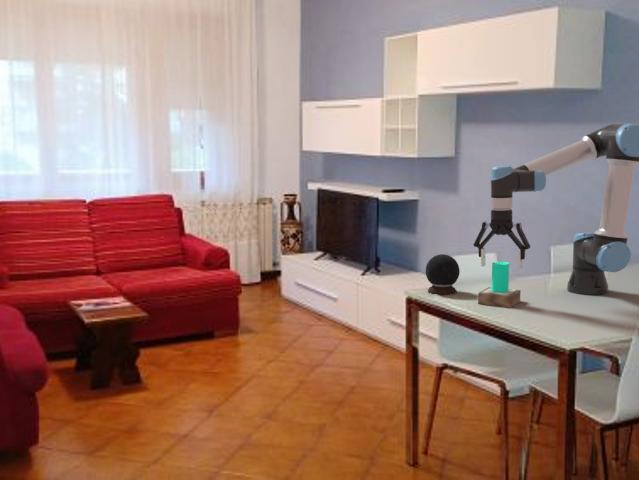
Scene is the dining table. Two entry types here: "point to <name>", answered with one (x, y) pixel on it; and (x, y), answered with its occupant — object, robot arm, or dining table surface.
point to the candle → (500, 277)
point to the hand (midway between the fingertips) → (501, 267)
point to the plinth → (499, 297)
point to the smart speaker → (442, 274)
